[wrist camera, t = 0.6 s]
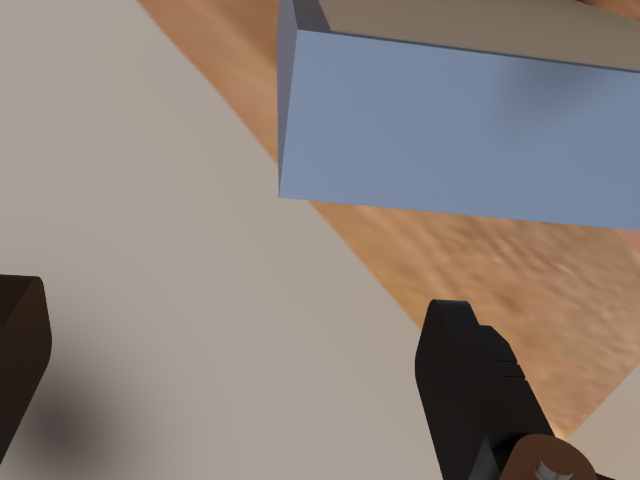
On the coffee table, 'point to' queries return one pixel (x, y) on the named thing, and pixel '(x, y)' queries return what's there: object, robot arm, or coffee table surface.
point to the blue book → (462, 108)
